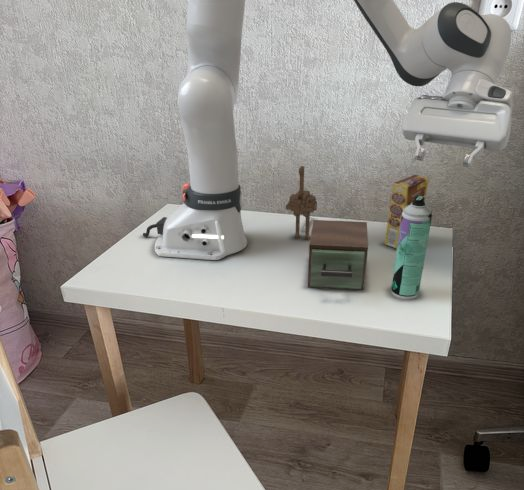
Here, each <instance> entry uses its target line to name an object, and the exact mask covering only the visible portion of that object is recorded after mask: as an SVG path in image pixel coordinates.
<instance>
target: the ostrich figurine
mask: <svg viewBox="0 0 524 490" xmlns="http://www.w3.org/2000/svg"><path fill="white" fill-rule="evenodd" d="M298 176H299V190H297V192H296V193H291V195H290V196H289V201H288V202H287V203H286V205H285V210H287V211H288V210H289V211H291V212H293V216H294V217H295V233H294V239H296V240H298V239H299V238H300V227H301V226H300V225H301V215H303V217H304V218H305V224H304V227H303V231H304V238H303V239H304V240H305V241H308V240H309V238H310V223H311V221H312V219H313V216H311V213H314V212H316V211H317V208H318V201H317V198H316V195H313V194H311V193H310V190H305V189H304V186H305V166H304V165H301V166H299V168H298Z"/></svg>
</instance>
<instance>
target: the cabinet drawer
mask: <svg viewBox="0 0 524 490" xmlns="http://www.w3.org/2000/svg"><path fill="white" fill-rule="evenodd" d="M364 256H365V252H364V251H358V250H336V249H312V257H311V281H310V286H314V287H333V288H351V289H361V285H362V275H363V266H364Z"/></svg>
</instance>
